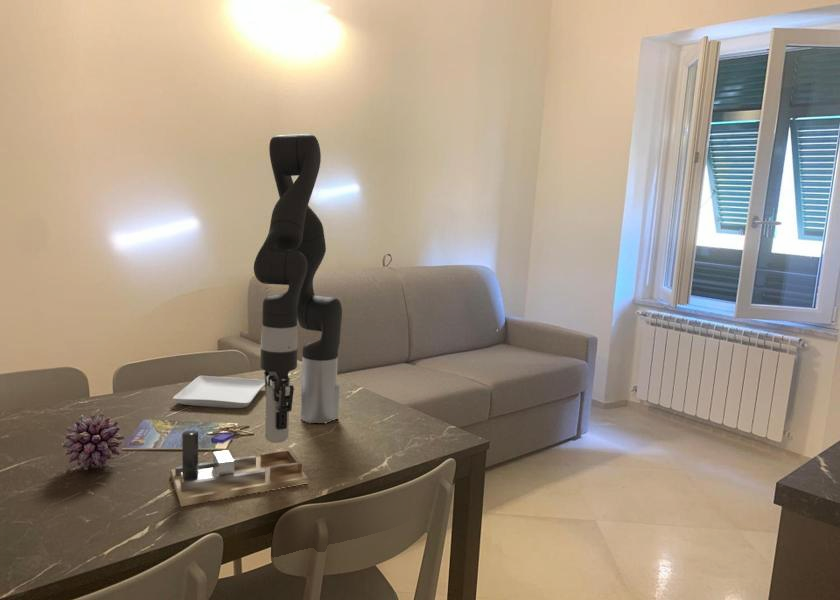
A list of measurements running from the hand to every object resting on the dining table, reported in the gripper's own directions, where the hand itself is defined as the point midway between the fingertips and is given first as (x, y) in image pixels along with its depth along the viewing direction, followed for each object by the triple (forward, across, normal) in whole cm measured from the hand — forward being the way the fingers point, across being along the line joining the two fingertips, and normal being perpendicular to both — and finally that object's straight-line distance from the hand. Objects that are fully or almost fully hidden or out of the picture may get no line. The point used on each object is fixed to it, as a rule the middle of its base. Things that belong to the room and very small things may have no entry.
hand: (277, 423), depth 135 cm
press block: (+10, 0, +14) cm, 17 cm away
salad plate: (+12, +54, 0) cm, 55 cm away
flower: (+12, +17, +34) cm, 40 cm away
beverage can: (+4, 0, 0) cm, 4 cm away
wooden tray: (+11, 0, +8) cm, 14 cm away
